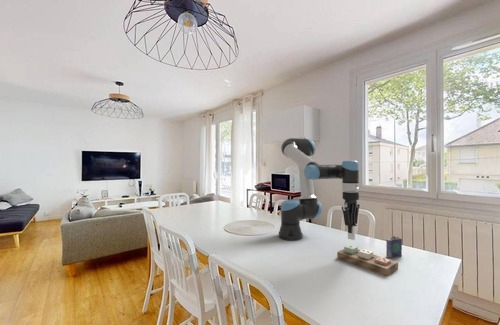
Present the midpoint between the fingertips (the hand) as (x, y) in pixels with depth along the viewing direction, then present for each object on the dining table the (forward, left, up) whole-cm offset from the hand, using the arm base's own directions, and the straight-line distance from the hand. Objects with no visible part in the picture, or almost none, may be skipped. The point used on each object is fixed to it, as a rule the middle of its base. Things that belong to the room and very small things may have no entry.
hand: (351, 239), depth 114 cm
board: (+7, 0, -10) cm, 12 cm away
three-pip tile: (+15, 0, -8) cm, 17 cm away
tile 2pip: (+7, 0, -7) cm, 10 cm away
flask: (+12, +19, -10) cm, 24 cm away
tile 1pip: (0, 0, -7) cm, 7 cm away
